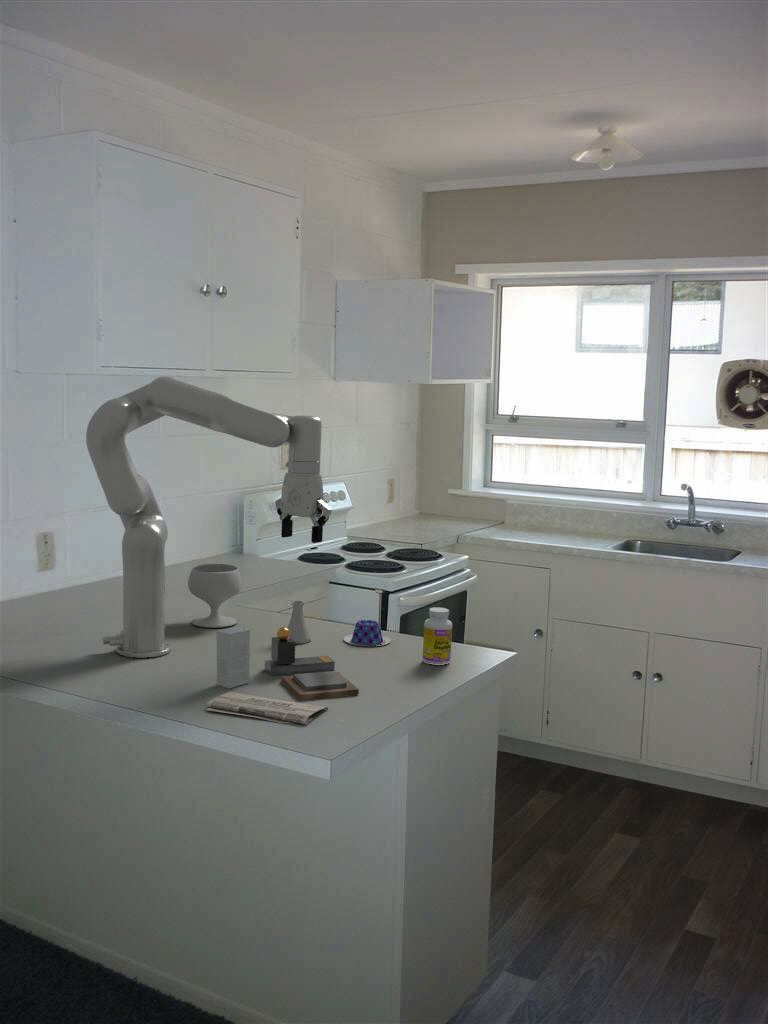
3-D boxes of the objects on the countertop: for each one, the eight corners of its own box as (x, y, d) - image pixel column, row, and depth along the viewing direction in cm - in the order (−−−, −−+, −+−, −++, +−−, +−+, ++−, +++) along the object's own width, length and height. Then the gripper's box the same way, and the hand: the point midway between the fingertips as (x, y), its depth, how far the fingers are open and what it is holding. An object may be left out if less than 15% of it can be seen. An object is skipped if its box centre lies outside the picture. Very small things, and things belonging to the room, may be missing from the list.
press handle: (277, 664, 224) (278, 630, 223) (271, 658, 229) (271, 625, 228) (294, 663, 226) (295, 629, 225) (288, 657, 230) (288, 624, 229)
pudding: (336, 638, 259) (337, 618, 258) (379, 634, 264) (380, 615, 263) (353, 650, 248) (354, 629, 247) (398, 646, 253) (399, 626, 252)
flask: (306, 645, 250) (308, 606, 248) (278, 643, 251) (279, 603, 250) (314, 638, 257) (315, 600, 255) (287, 636, 258) (288, 597, 257)
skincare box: (236, 678, 221) (237, 625, 219) (249, 683, 218) (250, 629, 217) (215, 684, 216) (216, 630, 215) (228, 689, 214) (229, 634, 212)
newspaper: (201, 714, 199) (202, 701, 199) (232, 702, 211) (232, 690, 211) (305, 732, 191) (306, 718, 191) (331, 718, 203) (332, 706, 203)
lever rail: (270, 675, 224) (270, 666, 224) (264, 669, 229) (264, 660, 228) (334, 670, 230) (334, 661, 230) (327, 664, 234) (327, 655, 234)
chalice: (227, 615, 277) (228, 561, 275) (249, 626, 266) (250, 570, 264) (179, 620, 270) (179, 565, 268) (200, 632, 258) (200, 574, 256)
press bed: (299, 700, 208) (300, 690, 208) (281, 681, 220) (281, 672, 220) (358, 694, 213) (358, 685, 213) (337, 676, 225) (338, 667, 225)
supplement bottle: (431, 667, 235) (433, 613, 233) (417, 660, 240) (419, 607, 239) (455, 664, 238) (458, 611, 236) (441, 657, 244) (443, 605, 242)
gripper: (266, 465, 241) (264, 536, 243) (320, 472, 230) (318, 546, 232) (288, 464, 247) (286, 533, 249) (342, 470, 236) (339, 543, 238)
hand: (301, 539), depth 241 cm, fingers open, 9 cm apart
